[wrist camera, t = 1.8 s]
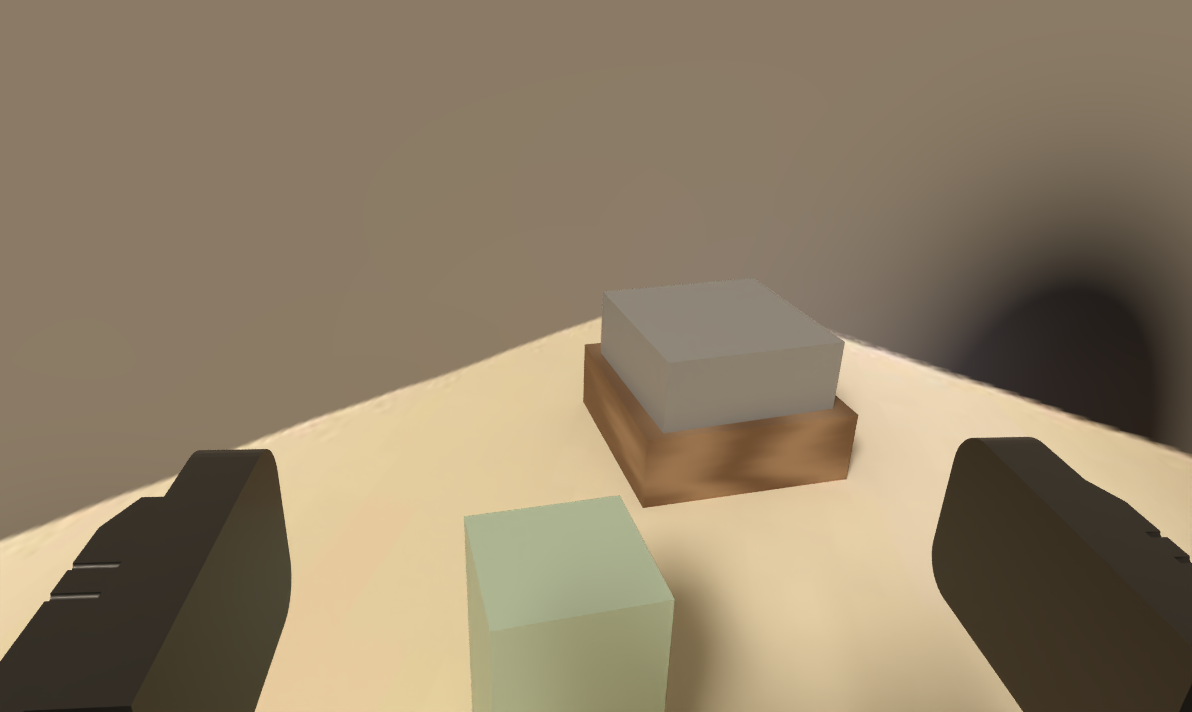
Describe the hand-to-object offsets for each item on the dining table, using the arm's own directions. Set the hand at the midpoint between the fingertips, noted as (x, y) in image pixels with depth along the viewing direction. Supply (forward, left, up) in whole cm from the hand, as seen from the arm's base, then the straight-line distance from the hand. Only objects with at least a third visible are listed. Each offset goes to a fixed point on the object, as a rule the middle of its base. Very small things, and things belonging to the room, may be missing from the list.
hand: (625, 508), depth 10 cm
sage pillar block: (-2, -11, -19) cm, 22 cm away
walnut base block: (-16, -32, -20) cm, 41 cm away
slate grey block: (-16, -32, -15) cm, 39 cm away
